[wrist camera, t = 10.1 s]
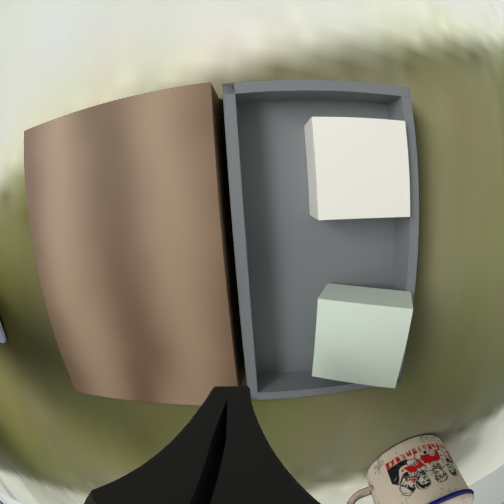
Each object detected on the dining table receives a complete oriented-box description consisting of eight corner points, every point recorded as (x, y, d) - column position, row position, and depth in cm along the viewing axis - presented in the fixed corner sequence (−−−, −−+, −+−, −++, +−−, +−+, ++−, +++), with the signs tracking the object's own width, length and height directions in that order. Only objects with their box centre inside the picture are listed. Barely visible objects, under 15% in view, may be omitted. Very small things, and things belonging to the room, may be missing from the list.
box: (249, 377, 20) (248, 400, 17) (227, 97, 16) (222, 84, 13) (387, 362, 19) (399, 382, 17) (391, 97, 15) (409, 87, 13)
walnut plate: (92, 370, 20) (76, 391, 17) (51, 135, 16) (24, 131, 13) (242, 377, 20) (240, 405, 17) (218, 98, 16) (210, 82, 13)
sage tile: (394, 388, 14) (396, 364, 16) (413, 309, 13) (410, 291, 15) (311, 376, 16) (322, 354, 19) (317, 298, 15) (327, 283, 17)
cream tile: (410, 216, 14) (391, 211, 16) (405, 120, 13) (386, 128, 15) (318, 220, 14) (309, 214, 17) (311, 116, 13) (304, 126, 16)
